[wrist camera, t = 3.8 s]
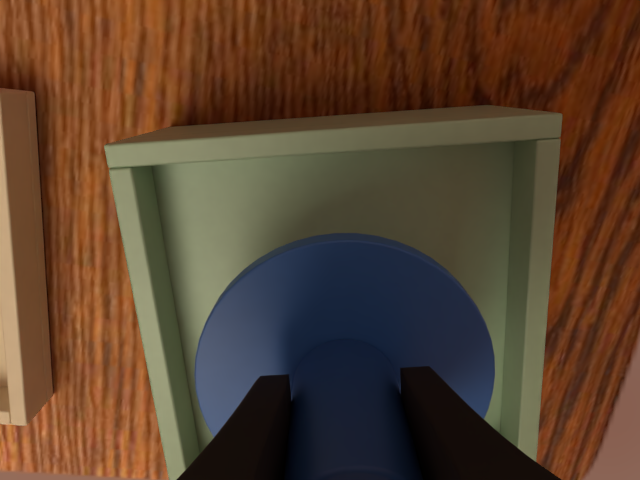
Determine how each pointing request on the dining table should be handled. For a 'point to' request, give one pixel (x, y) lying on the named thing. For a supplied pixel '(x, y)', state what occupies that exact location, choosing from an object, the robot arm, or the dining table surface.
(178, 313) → the green square tray
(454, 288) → the blue lid
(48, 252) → the dining table surface
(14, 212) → the tray
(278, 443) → the robot arm
